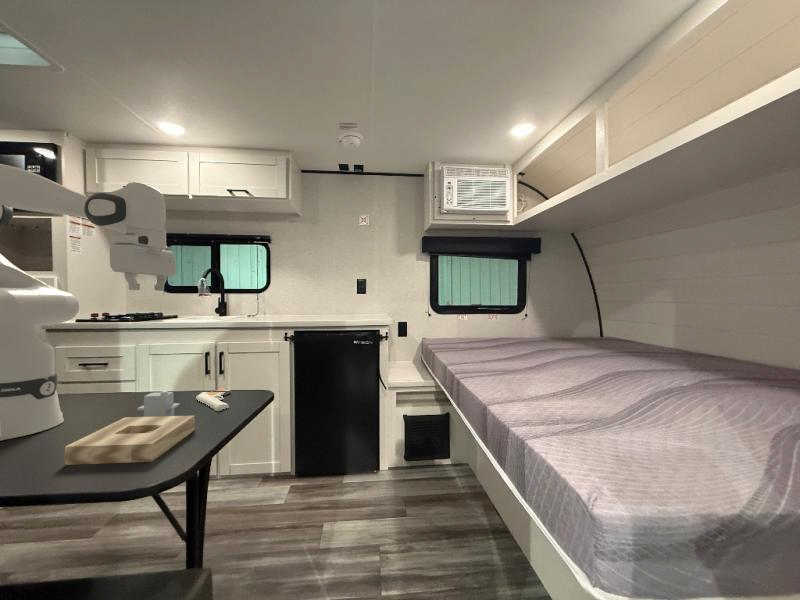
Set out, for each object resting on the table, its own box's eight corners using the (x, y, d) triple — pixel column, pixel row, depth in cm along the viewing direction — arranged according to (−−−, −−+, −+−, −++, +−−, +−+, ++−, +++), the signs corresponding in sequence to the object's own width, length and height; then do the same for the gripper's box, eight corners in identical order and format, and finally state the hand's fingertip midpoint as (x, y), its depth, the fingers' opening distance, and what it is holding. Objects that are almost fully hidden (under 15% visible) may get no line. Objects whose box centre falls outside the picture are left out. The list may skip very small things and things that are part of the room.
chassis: (65, 464, 67) (64, 446, 67) (125, 432, 83) (125, 417, 82) (152, 461, 68) (152, 443, 68) (194, 429, 84) (194, 415, 84)
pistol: (251, 403, 106) (216, 413, 97) (224, 392, 118) (191, 400, 109) (251, 396, 106) (216, 406, 97) (224, 386, 118) (191, 393, 109)
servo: (137, 424, 88) (137, 393, 88) (146, 419, 91) (145, 390, 91) (172, 423, 89) (172, 393, 88) (179, 418, 92) (179, 389, 92)
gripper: (160, 247, 97) (161, 290, 97) (103, 235, 77) (104, 289, 77) (181, 247, 97) (182, 291, 98) (130, 235, 77) (130, 289, 77)
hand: (147, 290), depth 87 cm, fingers open, 8 cm apart
